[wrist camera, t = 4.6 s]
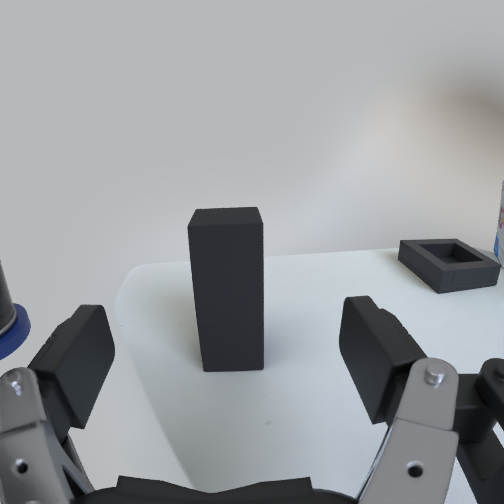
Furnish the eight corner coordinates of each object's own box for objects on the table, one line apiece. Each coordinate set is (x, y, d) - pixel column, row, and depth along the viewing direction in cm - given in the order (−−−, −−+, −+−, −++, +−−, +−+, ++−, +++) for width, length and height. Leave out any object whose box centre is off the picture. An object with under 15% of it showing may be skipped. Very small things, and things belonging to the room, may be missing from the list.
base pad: (438, 293, 29) (443, 270, 28) (397, 259, 38) (400, 240, 37) (496, 285, 29) (501, 265, 28) (453, 255, 38) (456, 238, 37)
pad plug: (203, 372, 20) (187, 225, 16) (207, 338, 24) (195, 208, 20) (263, 370, 20) (263, 222, 17) (259, 336, 24) (257, 206, 20)
